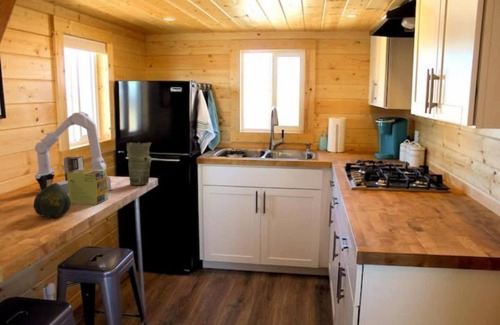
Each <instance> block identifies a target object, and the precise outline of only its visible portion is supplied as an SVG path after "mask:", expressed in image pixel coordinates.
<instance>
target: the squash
mask: <svg viewBox="0 0 500 325" xmlns="http://www.w3.org/2000/svg"><path fill="white" fill-rule="evenodd" d="M71 204H72V203H71V202H70V198H69V194H68V193H66V192H65V191H64V190H63V189H62V188H61V187H60V185H59V184H57V183H56V182H54V183H52V184H51V185H49V186H48V187H46V188H45V189H43V190H42V191H41V192H40V191H39V192H38V193H37V194H36V196H35V198H34V200H33V209H34V210H35V213H36V214H37V215H39V216H42V217H43V218H45V219H49V220H50V219H51V218H55V219H56V218H58V217H60V216H62V215H65V214H66V213H67V212H68V211H69V210H70V208H71Z"/></svg>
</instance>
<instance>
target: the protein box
mask: <svg viewBox="0 0 500 325" xmlns="http://www.w3.org/2000/svg"><path fill="white" fill-rule="evenodd" d="M106 174H107V169H106V170H100V169H91V168H84V169H77V170H74V171H71V172H67V181H68V193H67V194H68V196H69V198H70V202H71V204H76V205H77V204H78V205H95V206H99V205H100V204H101V203H104V202H105V201H107V200H109V195H108V194H109V193H108V192H109V191H107V176H108V175H107V176H106Z"/></svg>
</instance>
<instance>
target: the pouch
mask: <svg viewBox="0 0 500 325" xmlns="http://www.w3.org/2000/svg"><path fill="white" fill-rule="evenodd" d="M151 144H152V142H150V141H148V142H143V143H141V142H140V141H138V142H127V143H126V151H127V157H128V163H127V165H128V177H129V178H128V179H129V185H132V186H142V185H146V184H147V185H149V182H150V170H151V169H150V168H151V162H152V156H150V153H151V151H150V147H151Z"/></svg>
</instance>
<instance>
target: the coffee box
mask: <svg viewBox="0 0 500 325" xmlns="http://www.w3.org/2000/svg"><path fill="white" fill-rule="evenodd" d="M62 160H63V167H64V168H63V169H64V178H65V179H64V181H67V172H71V171H74V170H77V169H85V166H84V164H85V163H84V156H66V157H64V158H63V159H62Z"/></svg>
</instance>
